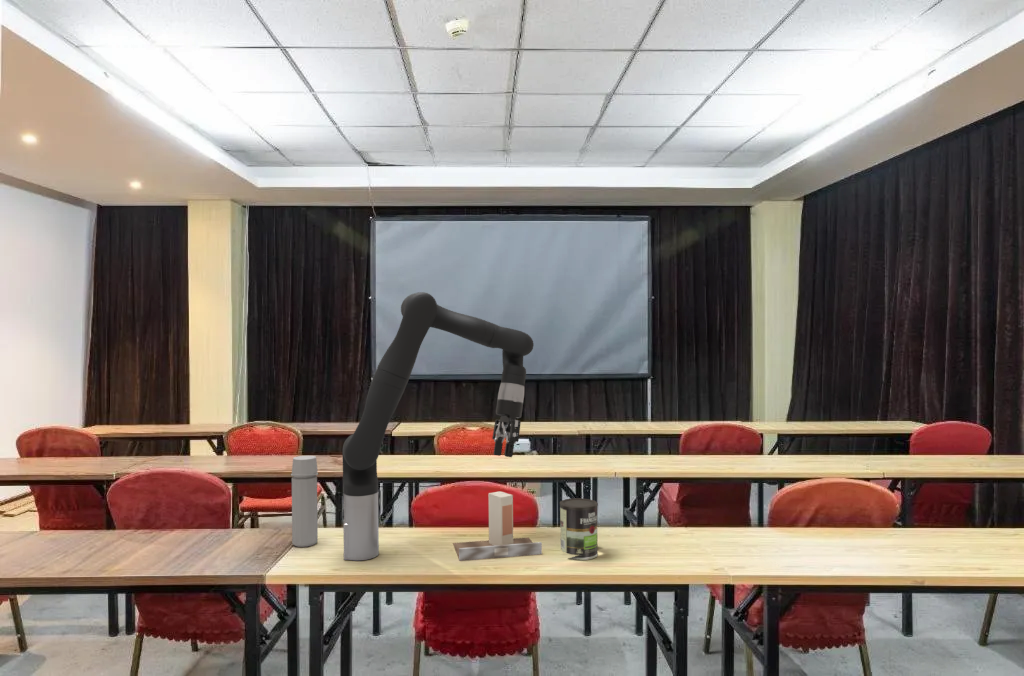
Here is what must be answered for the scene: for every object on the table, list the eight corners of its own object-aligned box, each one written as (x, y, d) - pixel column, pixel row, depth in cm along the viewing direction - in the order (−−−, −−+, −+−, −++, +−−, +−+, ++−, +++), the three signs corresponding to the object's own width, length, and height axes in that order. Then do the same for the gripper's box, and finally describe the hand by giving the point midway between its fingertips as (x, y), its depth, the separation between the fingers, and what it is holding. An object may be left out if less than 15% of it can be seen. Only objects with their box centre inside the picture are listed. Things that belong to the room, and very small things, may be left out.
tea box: (501, 548, 178) (501, 497, 178) (489, 543, 183) (488, 493, 183) (513, 545, 181) (513, 495, 181) (500, 540, 185) (500, 491, 185)
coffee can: (606, 554, 177) (605, 502, 177) (579, 563, 170) (578, 509, 170) (578, 545, 185) (578, 496, 185) (552, 553, 178) (551, 502, 178)
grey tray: (459, 567, 169) (459, 549, 169) (452, 548, 184) (452, 532, 184) (542, 560, 173) (541, 543, 173) (528, 542, 188) (528, 526, 188)
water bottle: (314, 548, 185) (313, 460, 185) (287, 548, 185) (286, 460, 185) (324, 538, 194) (323, 454, 194) (298, 538, 194) (297, 454, 194)
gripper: (489, 398, 195) (482, 453, 193) (508, 397, 182) (499, 455, 179) (512, 402, 198) (505, 456, 195) (532, 401, 185) (524, 459, 182)
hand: (502, 456), depth 187 cm, fingers open, 8 cm apart
